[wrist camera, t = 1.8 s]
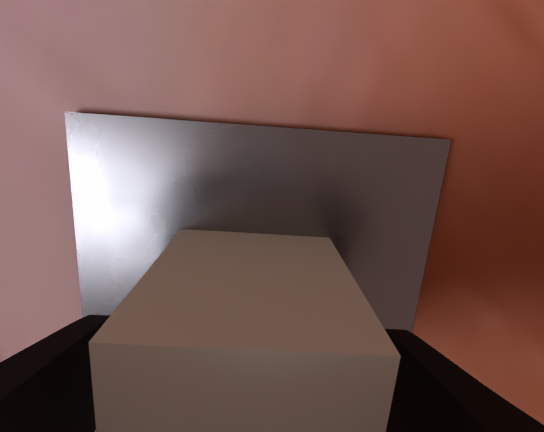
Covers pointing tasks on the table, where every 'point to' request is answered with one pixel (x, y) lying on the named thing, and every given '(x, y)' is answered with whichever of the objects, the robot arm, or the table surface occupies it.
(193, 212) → the post base
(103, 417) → the pale grey cube box
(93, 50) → the table surface
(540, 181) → the table surface
